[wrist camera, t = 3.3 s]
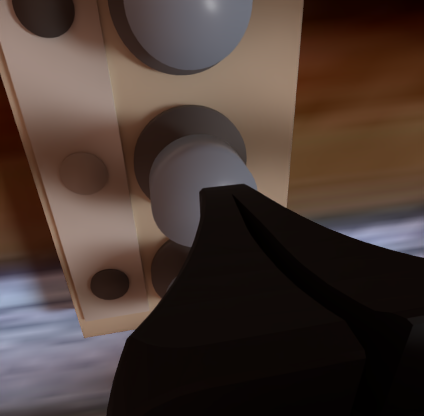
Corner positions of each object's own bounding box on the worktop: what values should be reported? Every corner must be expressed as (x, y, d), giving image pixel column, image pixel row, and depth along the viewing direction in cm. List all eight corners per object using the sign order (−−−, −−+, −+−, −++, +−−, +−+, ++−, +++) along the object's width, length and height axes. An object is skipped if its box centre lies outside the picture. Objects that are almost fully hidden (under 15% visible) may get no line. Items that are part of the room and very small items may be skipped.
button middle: (243, 215, 16) (256, 240, 15) (154, 226, 16) (157, 254, 14) (244, 129, 14) (259, 147, 13) (142, 139, 14) (144, 159, 12)
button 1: (236, 57, 14) (251, 66, 12) (133, 64, 13) (133, 74, 12) (237, -71, 12) (254, -82, 10) (115, -69, 11) (112, -81, 10)
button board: (266, 278, 25) (281, 310, 23) (88, 307, 23) (83, 344, 21) (288, -120, 14) (322, -146, 12) (-37, -123, 13) (-79, -154, 10)
